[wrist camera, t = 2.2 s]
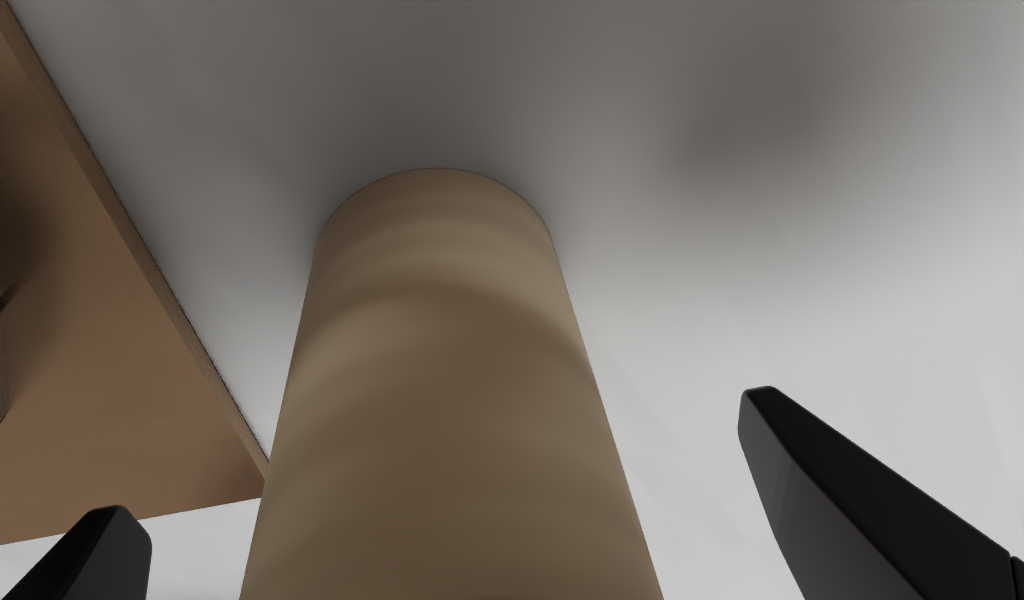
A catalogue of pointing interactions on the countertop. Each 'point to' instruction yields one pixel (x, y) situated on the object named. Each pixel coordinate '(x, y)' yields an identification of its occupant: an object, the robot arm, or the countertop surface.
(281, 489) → the cylinder
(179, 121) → the countertop surface
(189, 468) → the brown board with ring
